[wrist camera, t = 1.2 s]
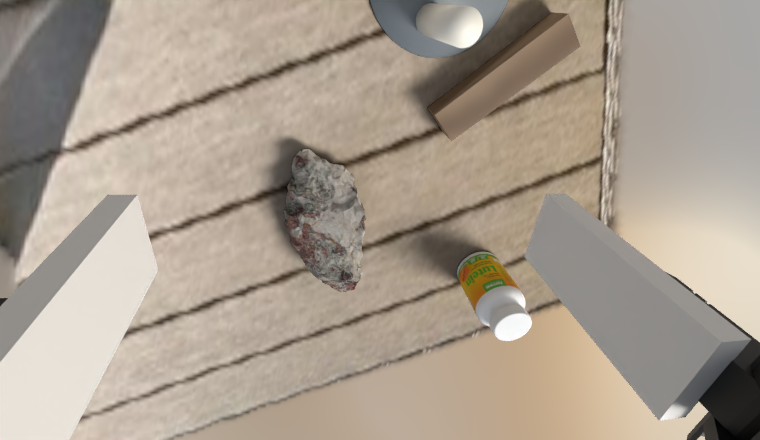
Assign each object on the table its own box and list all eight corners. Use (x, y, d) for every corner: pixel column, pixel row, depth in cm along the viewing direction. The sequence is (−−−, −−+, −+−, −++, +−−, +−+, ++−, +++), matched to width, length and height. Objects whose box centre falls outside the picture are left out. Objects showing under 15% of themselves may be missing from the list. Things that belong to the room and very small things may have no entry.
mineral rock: (283, 145, 35) (280, 163, 31) (368, 149, 36) (375, 167, 32) (287, 271, 42) (284, 298, 38) (357, 270, 44) (361, 296, 40)
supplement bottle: (484, 242, 44) (524, 299, 36) (505, 267, 47) (547, 325, 38) (447, 268, 45) (478, 329, 37) (470, 291, 48) (503, 353, 40)
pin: (409, 16, 31) (439, 23, 23) (433, -4, 30) (472, -4, 23) (424, 42, 32) (458, 56, 25) (448, 23, 31) (489, 31, 24)
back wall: (427, 107, 35) (434, 115, 33) (551, 12, 32) (568, 13, 30) (443, 132, 36) (451, 141, 34) (563, 43, 34) (580, 46, 32)
